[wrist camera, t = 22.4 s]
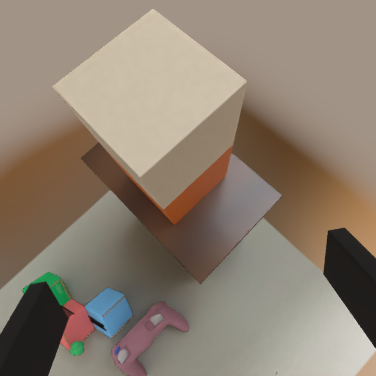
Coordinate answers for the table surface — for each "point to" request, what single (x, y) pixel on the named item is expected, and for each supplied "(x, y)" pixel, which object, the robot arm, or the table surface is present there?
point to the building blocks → (88, 313)
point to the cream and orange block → (160, 111)
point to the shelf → (195, 212)
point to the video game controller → (145, 337)
